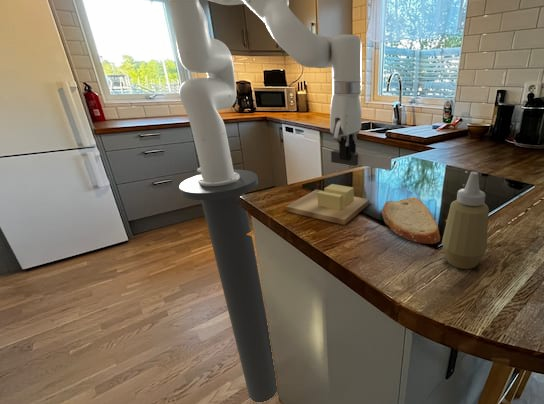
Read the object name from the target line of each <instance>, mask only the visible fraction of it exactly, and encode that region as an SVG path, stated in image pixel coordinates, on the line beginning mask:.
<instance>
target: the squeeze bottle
mask: <svg viewBox="0 0 544 404" xmlns="http://www.w3.org/2000/svg"><path fill="white" fill-rule="evenodd" d="M485 201H486V193H485V192H484V191H482V190H481V189H480V179H479V173H478V172H477V171H471V172H470V174H469V176H468V179H467V182H466V183H465V187H464V188H460V189H458V190H457V193H456V199H455V200H453V201H451V203H450V204H449V205H450V206H449V210H448V214H447V218H446V223H445V227H444V231H443V235H442V240H441V243H442V247H443V251H444V255H445V259H446V262H447V263H448V264H449V265H451V266H453V267H455V268H458V269H462V270H469V269H474V268H475V267H477V266H478V264H479V263H480V261H481V259H482V258H483V257H484V255H485V254H486V251H487V247H488V246H487V245H488V231H489V211H490V208H489V207H488V205H487V204H486V203H485Z"/></svg>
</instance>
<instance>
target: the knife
mask: <svg viewBox="0 0 544 404" xmlns="http://www.w3.org/2000/svg"><path fill="white" fill-rule="evenodd" d="M330 156H331V157H330V159H331V160H330V161H331V163H333V164H334V163H335V164H341V165H347V166H353V167H356V166H359V167H360V166H361V167H368V168H375V169H379V170H385V171H392V159H393V157H391V156H385V155H378V154H370V153H363V152H357V151H356V152H350V160H349V161H348V160H341V159H340V156H339V149H333V150H331V151H330Z"/></svg>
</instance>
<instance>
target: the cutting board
mask: <svg viewBox="0 0 544 404" xmlns="http://www.w3.org/2000/svg"><path fill="white" fill-rule="evenodd" d="M319 191H323V192H325V191H324V190H321V189H314V190H313V191H311V192H309V193H307V194H305V195H303V196H302V197H300V198H298V199H297V200H295V201H293V202H291V203H290V204H288V205H286V206H285V209H286V212H287V213H291V214H296V215H300V216H304V217H309V218H314V219H318V220H322V221H326V222H330V223H334V224H335V223H336V224H338V225H341V226H346V225H347V224H348V223H349V222H350V221H351V220H353V219H354V218H355V217H356V216H357V215H359V214H360V213H361V212H362V211H363V210H364V209H365V208H367V207H368V206H369V205H370V199H369V198H364V197H359V196H354V201H352V202H351V203H350V204H348V205H343V209H342V210H336V209H331V208H326V207H322V206H318V200H317V192H319Z"/></svg>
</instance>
